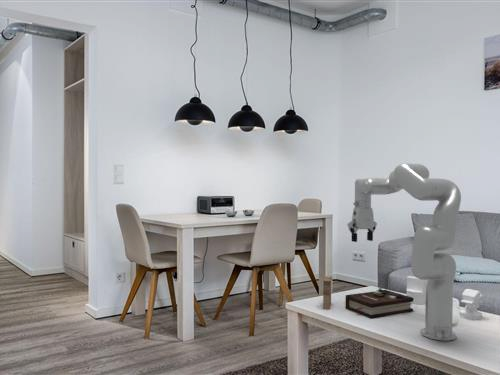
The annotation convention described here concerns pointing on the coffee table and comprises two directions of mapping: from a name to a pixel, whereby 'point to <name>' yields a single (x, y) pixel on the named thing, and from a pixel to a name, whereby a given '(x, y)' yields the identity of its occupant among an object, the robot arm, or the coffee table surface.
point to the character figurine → (471, 304)
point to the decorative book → (378, 303)
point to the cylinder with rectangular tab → (416, 290)
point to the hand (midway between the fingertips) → (362, 241)
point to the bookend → (327, 292)
